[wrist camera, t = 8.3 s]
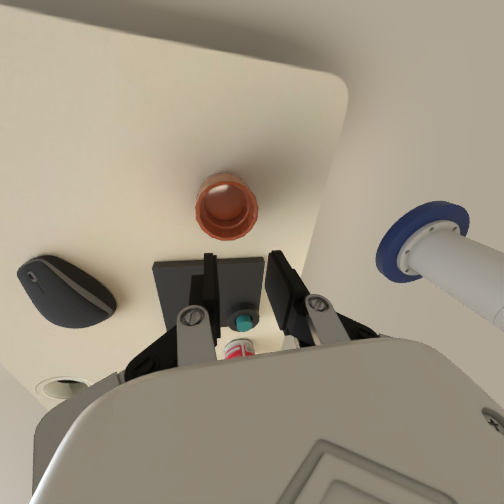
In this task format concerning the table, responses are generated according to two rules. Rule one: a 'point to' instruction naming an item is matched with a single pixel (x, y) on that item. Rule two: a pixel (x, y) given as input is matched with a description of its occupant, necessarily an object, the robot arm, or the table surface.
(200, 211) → the bowl
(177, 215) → the table surface
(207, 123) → the table surface
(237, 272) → the scale
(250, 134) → the table surface
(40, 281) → the computer mouse
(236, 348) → the pill bottle
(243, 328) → the button
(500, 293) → the robot arm
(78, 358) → the table surface
